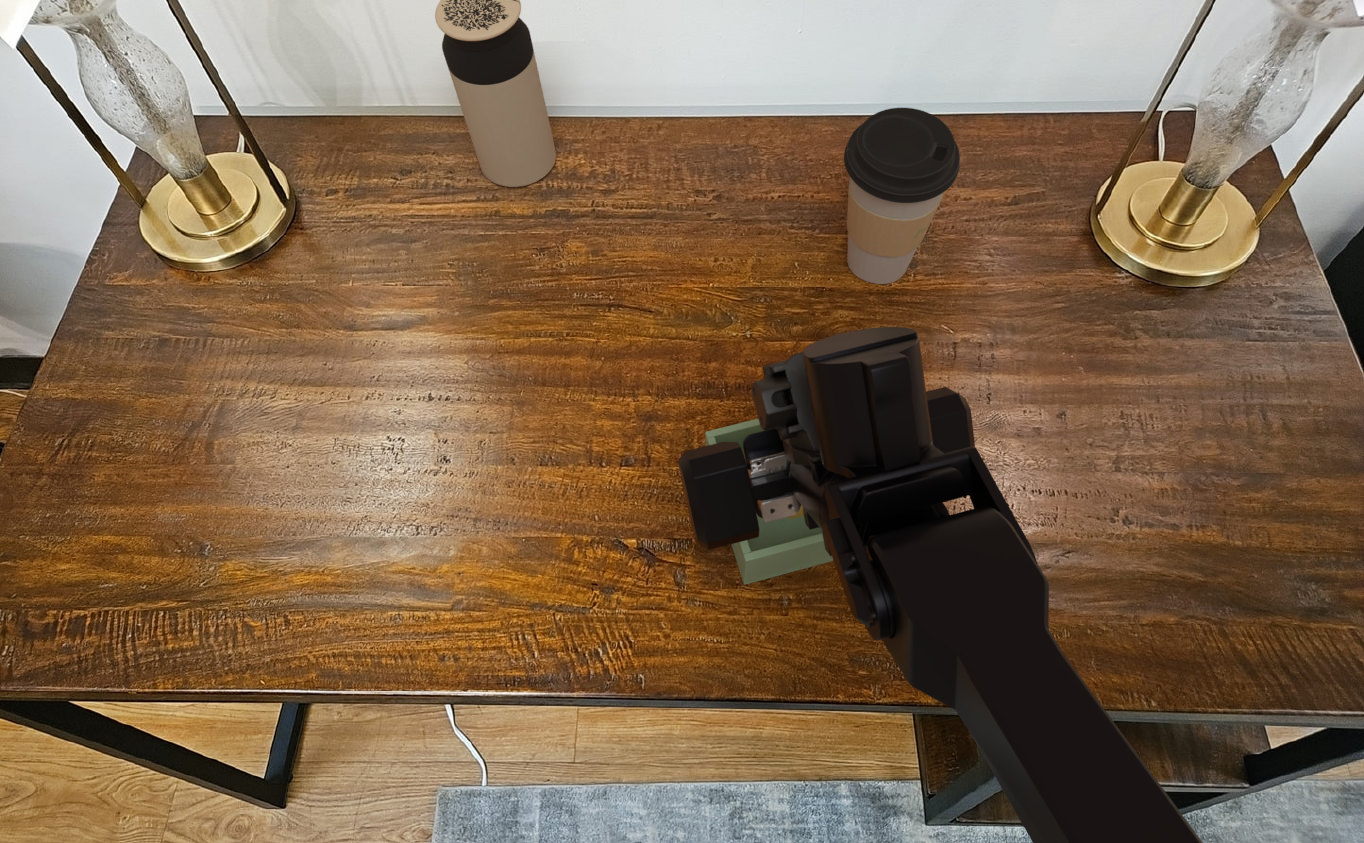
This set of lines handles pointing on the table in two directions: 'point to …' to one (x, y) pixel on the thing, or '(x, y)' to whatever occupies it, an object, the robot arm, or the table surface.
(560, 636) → the table surface
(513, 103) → the travel mug
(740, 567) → the green open square box
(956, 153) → the coffee cup
